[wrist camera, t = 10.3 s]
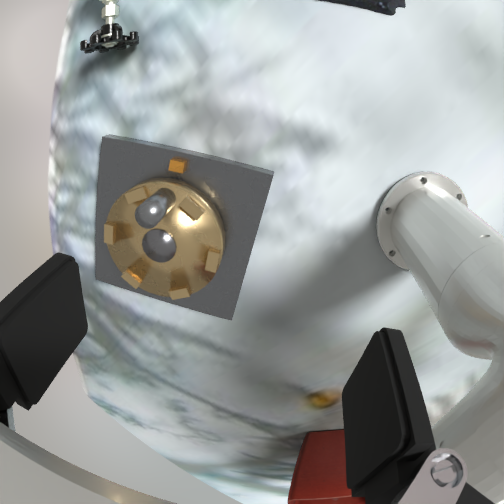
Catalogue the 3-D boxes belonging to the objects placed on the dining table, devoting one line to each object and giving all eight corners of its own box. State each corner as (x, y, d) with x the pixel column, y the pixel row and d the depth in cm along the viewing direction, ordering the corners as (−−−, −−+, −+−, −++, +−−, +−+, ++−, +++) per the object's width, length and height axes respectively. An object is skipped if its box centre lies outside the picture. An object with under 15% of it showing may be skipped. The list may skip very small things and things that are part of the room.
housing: (273, 171, 34) (273, 177, 32) (233, 312, 43) (230, 325, 41) (109, 134, 33) (97, 138, 31) (101, 272, 43) (92, 282, 40)
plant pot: (370, 455, 61) (376, 514, 47) (292, 461, 64) (289, 522, 49) (385, 415, 53) (398, 488, 38) (290, 423, 56) (287, 500, 41)
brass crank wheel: (214, 297, 40) (201, 337, 34) (114, 269, 40) (87, 302, 33) (237, 193, 34) (224, 219, 27) (118, 167, 33) (83, 186, 27)
